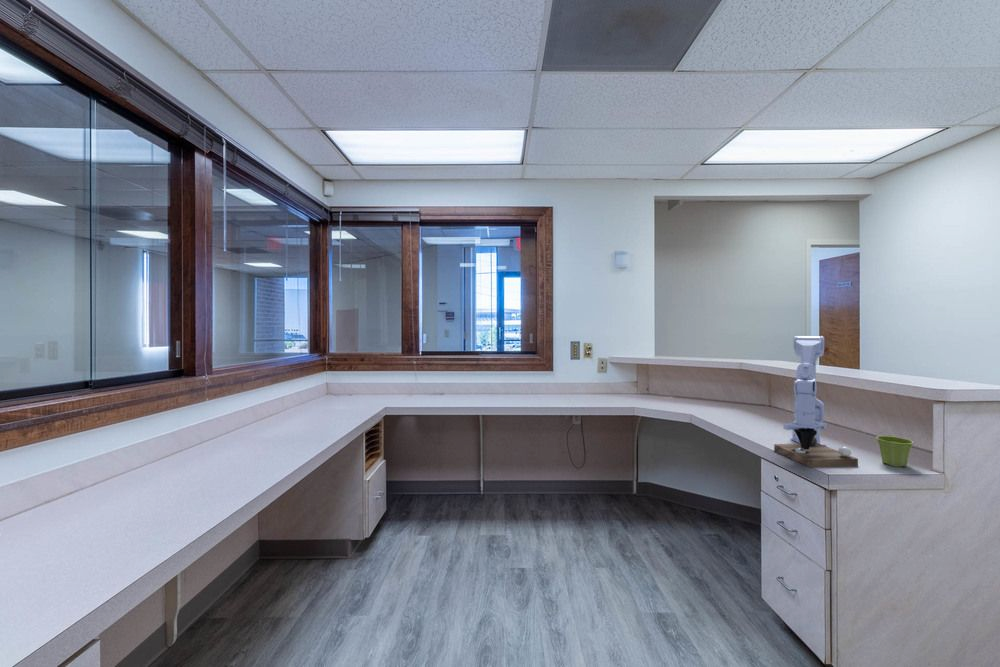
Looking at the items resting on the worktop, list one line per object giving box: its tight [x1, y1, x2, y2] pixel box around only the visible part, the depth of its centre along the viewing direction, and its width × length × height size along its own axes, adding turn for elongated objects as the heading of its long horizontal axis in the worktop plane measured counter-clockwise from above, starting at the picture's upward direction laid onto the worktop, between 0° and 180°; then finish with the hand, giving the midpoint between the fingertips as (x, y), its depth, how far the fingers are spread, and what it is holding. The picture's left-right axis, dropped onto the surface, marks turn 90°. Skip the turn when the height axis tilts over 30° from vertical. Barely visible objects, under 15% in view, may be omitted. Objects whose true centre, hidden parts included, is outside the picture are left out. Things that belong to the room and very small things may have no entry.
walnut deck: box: [773, 443, 859, 468], centre depth 151 cm, size 18×17×2 cm
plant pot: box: [875, 435, 914, 467], centre depth 143 cm, size 9×9×9 cm
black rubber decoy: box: [810, 437, 817, 446], centre depth 158 cm, size 4×4×4 cm
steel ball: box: [795, 448, 806, 453], centre depth 152 cm, size 4×4×4 cm
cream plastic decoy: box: [837, 446, 852, 457], centre depth 145 cm, size 4×4×4 cm
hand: (805, 448), depth 151 cm, fingers closed
